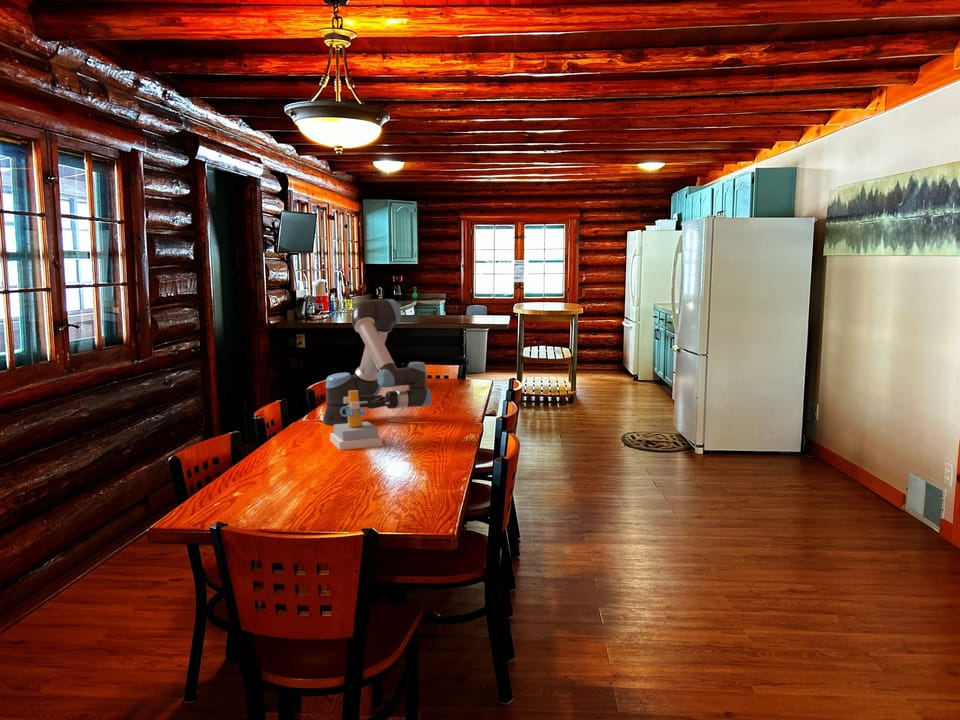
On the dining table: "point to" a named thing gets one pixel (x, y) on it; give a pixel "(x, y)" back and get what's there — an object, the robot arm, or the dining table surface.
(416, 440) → the dining table surface
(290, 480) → the dining table surface
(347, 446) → the tower base
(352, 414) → the yellow post with rings
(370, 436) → the tower top
